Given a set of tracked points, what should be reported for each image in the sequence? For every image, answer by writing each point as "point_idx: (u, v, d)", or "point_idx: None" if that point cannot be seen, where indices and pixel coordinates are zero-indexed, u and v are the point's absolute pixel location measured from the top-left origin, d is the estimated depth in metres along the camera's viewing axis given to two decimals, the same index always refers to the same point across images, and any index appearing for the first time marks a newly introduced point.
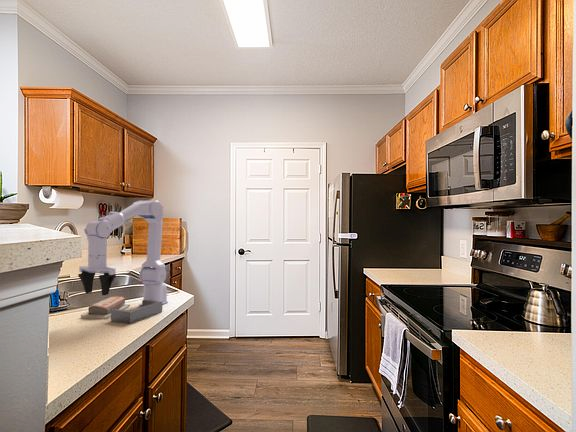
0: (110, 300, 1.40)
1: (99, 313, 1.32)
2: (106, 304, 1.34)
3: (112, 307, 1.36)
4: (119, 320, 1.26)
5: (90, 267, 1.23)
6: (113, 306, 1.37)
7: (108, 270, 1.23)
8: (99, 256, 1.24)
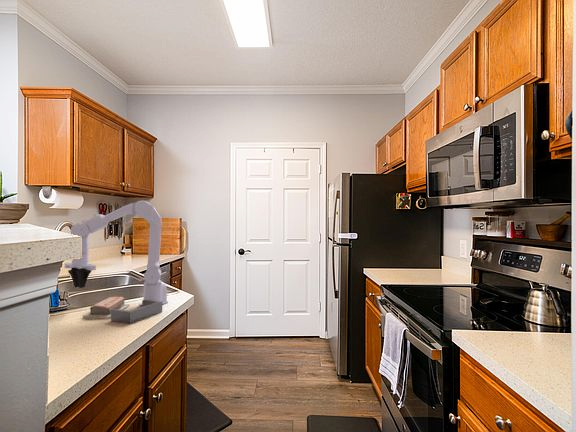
0: (110, 300, 1.40)
1: (101, 313, 1.32)
2: (107, 304, 1.35)
3: (114, 307, 1.36)
4: (119, 320, 1.26)
5: (73, 264, 1.41)
6: (114, 306, 1.37)
7: (89, 266, 1.40)
8: None
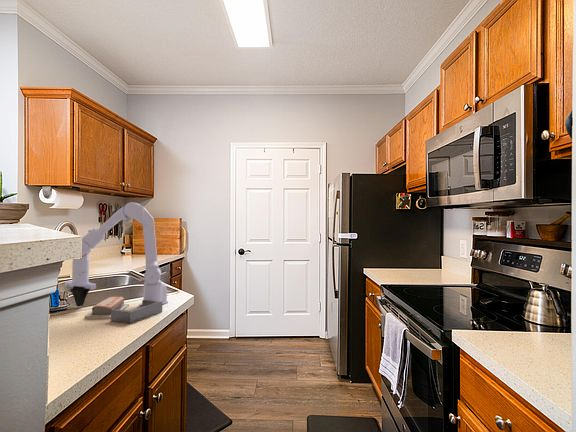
0: (111, 300, 1.40)
1: (103, 313, 1.32)
2: (109, 304, 1.35)
3: (115, 307, 1.36)
4: (119, 320, 1.26)
5: (74, 282, 1.41)
6: (116, 306, 1.37)
7: (89, 285, 1.40)
8: (82, 273, 1.41)
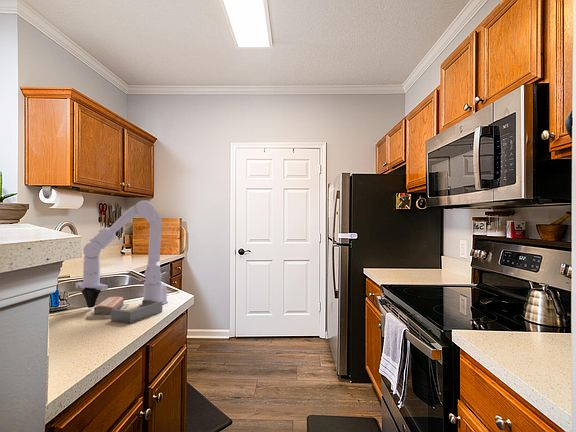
0: (111, 300, 1.40)
1: (105, 313, 1.32)
2: (111, 304, 1.35)
3: (117, 307, 1.36)
4: (119, 320, 1.26)
5: (85, 284, 1.39)
6: (117, 306, 1.37)
7: (101, 286, 1.38)
8: (93, 274, 1.39)
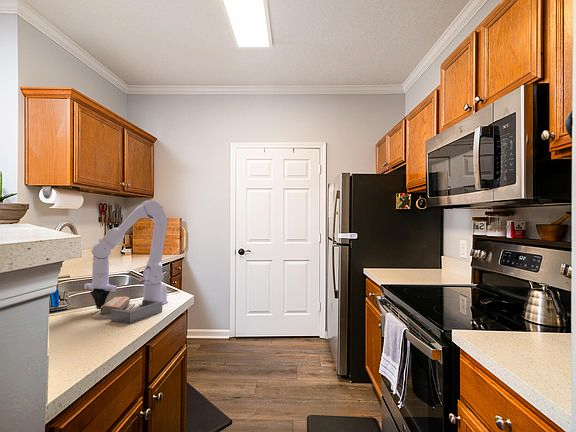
0: (118, 300, 1.41)
1: None
2: (117, 304, 1.35)
3: (123, 307, 1.37)
4: (119, 320, 1.26)
5: (94, 285, 1.37)
6: (123, 306, 1.38)
7: (110, 287, 1.37)
8: (102, 275, 1.38)
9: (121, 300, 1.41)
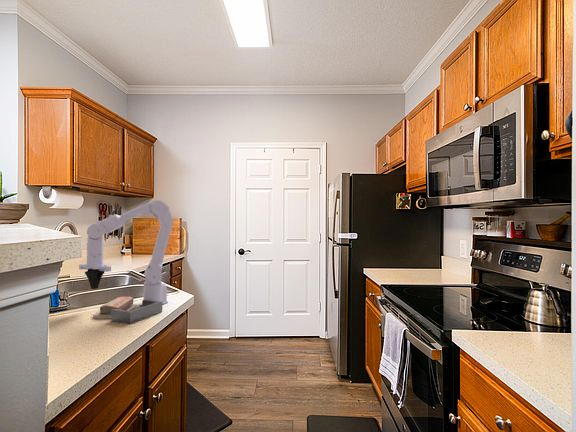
0: (120, 300, 1.41)
1: None
2: (117, 304, 1.35)
3: (123, 307, 1.36)
4: (119, 320, 1.26)
5: (88, 265, 1.39)
6: (124, 306, 1.37)
7: (104, 267, 1.39)
8: (96, 255, 1.39)
9: (123, 300, 1.41)
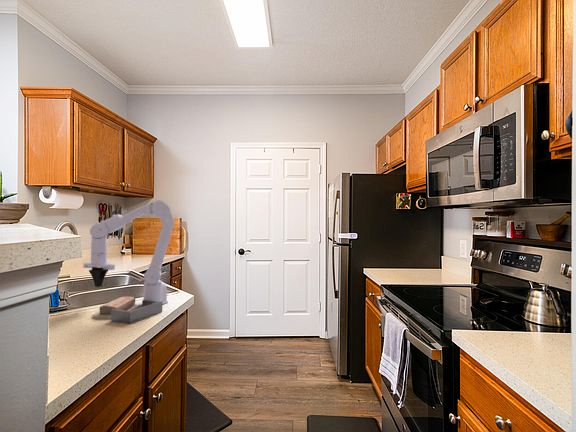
0: (121, 300, 1.41)
1: (110, 313, 1.32)
2: (116, 304, 1.35)
3: (123, 307, 1.36)
4: (119, 320, 1.26)
5: (92, 263, 1.43)
6: (124, 306, 1.37)
7: (108, 266, 1.42)
8: (100, 254, 1.43)
9: (124, 300, 1.41)
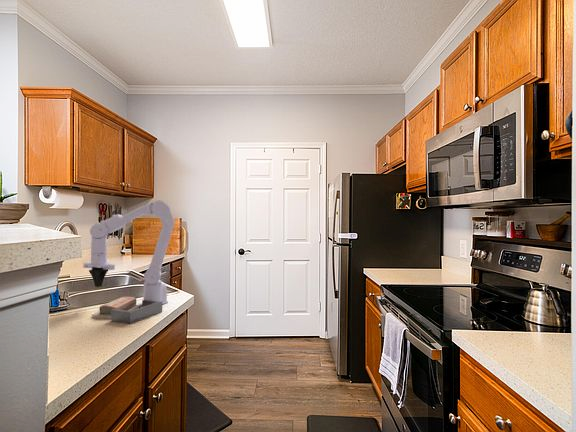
0: (121, 300, 1.41)
1: (110, 313, 1.32)
2: (116, 305, 1.35)
3: (123, 307, 1.36)
4: (119, 320, 1.26)
5: (92, 263, 1.43)
6: (124, 306, 1.36)
7: (108, 266, 1.42)
8: (100, 254, 1.43)
9: (124, 300, 1.41)
